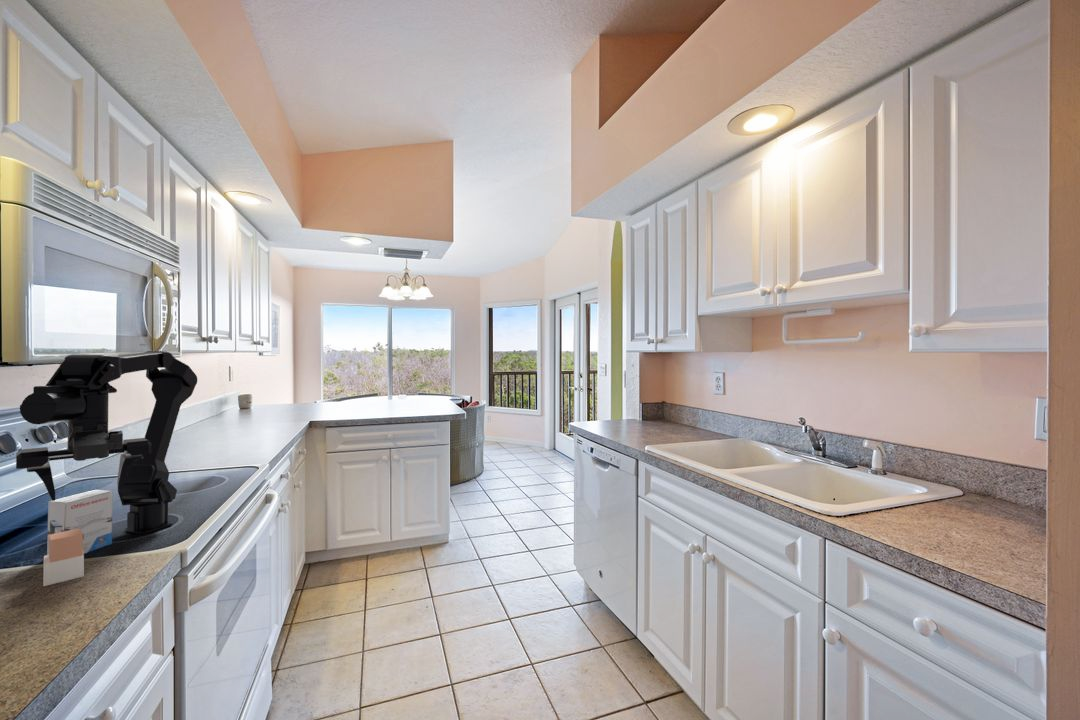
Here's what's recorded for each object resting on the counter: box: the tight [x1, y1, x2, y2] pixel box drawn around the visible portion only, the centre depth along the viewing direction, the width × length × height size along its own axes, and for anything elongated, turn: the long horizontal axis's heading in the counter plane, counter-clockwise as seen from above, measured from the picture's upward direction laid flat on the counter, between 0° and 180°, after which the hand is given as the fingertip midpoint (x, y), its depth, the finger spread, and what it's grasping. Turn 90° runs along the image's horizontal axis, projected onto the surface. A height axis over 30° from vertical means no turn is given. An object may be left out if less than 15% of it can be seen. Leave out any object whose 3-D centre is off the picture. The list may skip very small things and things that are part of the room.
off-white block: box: [42, 553, 85, 587], centre depth 83 cm, size 5×5×4 cm
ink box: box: [46, 489, 114, 555], centre depth 93 cm, size 9×5×12 cm, turn 168°
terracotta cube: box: [49, 528, 83, 562], centre depth 83 cm, size 4×4×4 cm
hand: (87, 494), depth 89 cm, fingers open, 9 cm apart
